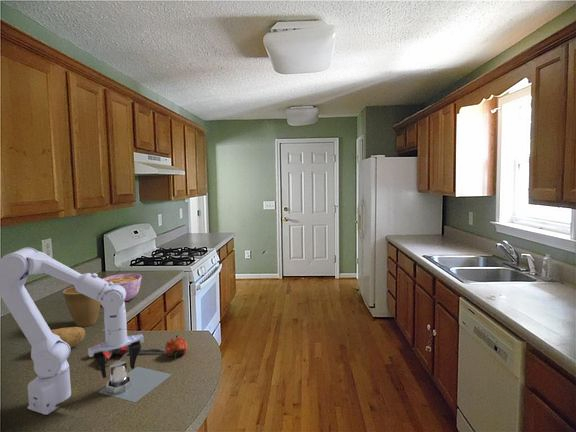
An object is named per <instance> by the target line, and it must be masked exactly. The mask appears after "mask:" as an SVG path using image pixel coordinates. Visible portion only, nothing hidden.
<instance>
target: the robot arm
mask: <svg viewBox="0 0 576 432" xmlns="http://www.w3.org/2000/svg"><path fill="white" fill-rule="evenodd" d="M39 274H45V275H48V276H51V277H54V278H56V279H58V280H60V281H63V282H66V283H68V284H71V285H73V287H74V286H75V289H76V291H77V292H79V293H81V294H83V295H86V296H88V297H90V298H92V299H94V300H96V299H97V300H96V301H100V302H101V305H100V306H102V308H103V309H104V310H103V312H104V313H103V321H104V337H105V338H104V340H105V341H104V342H101V343H97V344H98V345H96V344H95V345H96V346H94V345H93V346H91V347H88V348H87V353H88V357H89V358H92V357H93V358H94V361H95V362H96V363H97V365H99V366H98V367H99V369H100V372H101V377H102V378H103V379H105V378H107V372H106V368H105V366H106V363H105V357H104V354H103V352H106V351H110V350H114V349H118V348H121V347H124V346H129V367H130V369H131V370H133V369H134V368H135V365H136V360H137V357H138V353H139V351H140V349H142V348H141V347H142V344H141V343H144V342H145V341H144V340H145V339H144V335H143V334H142V333H141V334H136V335H128V329H127V328H128V327H127V325H128V324H127V322H128V321H127V310H126V302H124V299H125V297H126V290H125V288H124V287H123V286H121V285H120V284H114V283H112V282H110V283H109V282H107V281H105V280H103V278H101V277H99V275H98V274H97V273H96V272H93V273H90V272H86V273H80V272H78V271H77V270H75V269H72V268H71V267H70V266H67V265H66V264H63V263H61V262H59V261H58V260H56V259H54V258H53V257H51V256H49V255H48V254H46V253H45V252H42V251H38V250H37V249H35V248H33V247H22V248H20V249H18V250H16V251H14V252H11V253H7V254H5V255H4V256H2V257H1V258H0V297H1V299H2V301H3V302H4V304H5V305H6V308H7V309H8V311H9V312H10V314H11V315H12V317H13V318H14V320H15V322H16V323H17V325H18V326H19V329H20V330H21V332H22V333H23V335H24V336H25V337H26V338H25V339H27V341H28V343H29V344H30V346H31V351H30V358H31V360H32V362H33V370H34V372H35V374H36V375H37V376H36V377H35V378H34V379H33V380H31V381H29V383H28V384H27V397H28V406H27V409H28V410H30V411H33V412H37V413H38V414H42V415H45V416H46V415H50V414H51V413H52V412H54V411H56V410H57V409H59V408H60V406H59V405H58V404H61V403H63V402H64V401H66V400H68V399H69V398H70V397H71V396H72V385H71V372H70V371H71V370H70V364H69V362H68V358H69V357H70V355H71V352H72V351H71V349H72V348H70V346H69V345H68V344H67V343H66V342H64V341H62V340H61V338H60V337H59V336H58V335H56V334H53V333H52V332H51V330H52V329H51V328H50V326H48V323H47V321H45V318H44V316H43V315H42V313H41V311H40V310H39V309H38V307H37V305H36V304H35V302H34V300H33V298H32V297H31V295H30V293H29V292H28V290H27V288H26V287H25V284H26V281H27V280H28V278H29V276H32V275H39Z"/></svg>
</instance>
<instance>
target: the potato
mask: <svg viewBox="0 0 576 432" xmlns="http://www.w3.org/2000/svg"><path fill="white" fill-rule="evenodd" d="M50 330H51V332H52V333H53V334H56V335H58V336H59V337H60V338H61V340H62V341H64V342H66V343H67V344H68V345H69V346H70V349H72V348H74V347H75V346H77V345H78V344H80V343H81V342H82V341H83V340H84V338H85V336H86V331H85V329H84V327H78V326H71V327H61V328H56V329H50Z"/></svg>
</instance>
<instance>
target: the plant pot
mask: <svg viewBox="0 0 576 432" xmlns="http://www.w3.org/2000/svg"><path fill="white" fill-rule="evenodd" d="M62 292H63V296H64V300H65V302H66V303H65V304H66V306H67V307H66V308H68V309H67V310H68V311H69V314H70V316H71V318H72V321H73V322H74V324H75V325H76V327H82V328H84V327H89V326H92V325H94V324H96V323H97V320H98V316H99V312H100V310H101V309H100V308H101V306H102V305H101V302H100V301H96V300H97V299H96V300H94V299H92V298H90V297H88V296H86V295H83V294H81V293H79V292H77V291H76V289H75V286H74V285H73V286H71V287H68V288H66V289H64V290H63V291H62Z"/></svg>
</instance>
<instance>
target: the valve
mask: <svg viewBox="0 0 576 432" xmlns="http://www.w3.org/2000/svg"><path fill="white" fill-rule="evenodd" d="M98 344H99V343H95V344H94V345H93V346H96V345H98ZM164 353H166V352H165V349H160V348H141V349H140V351H139V353H138V355H141V356H142V355H143V356H144V355H147V356H151V355H153V356H155V355H156V356H158V355H159V356H161V355H162V356H163V354H164ZM103 354H104V357H105V364H107V363H108V362H109V361H110V359H111V358H112V356H113V355H119V356H121V358H120V359H119V360H118V361H124V359H125V358H126V357H127V356H128V355H129V356H130V354H129V346H124V347H121V348H118V349H114V350H110V351H106V352H103ZM138 355H137V356H138ZM97 365H98V364H97ZM110 365H111V364H110ZM110 365H109V364H108V365H105V369H106V368H110ZM98 367H99V365H98Z"/></svg>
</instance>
